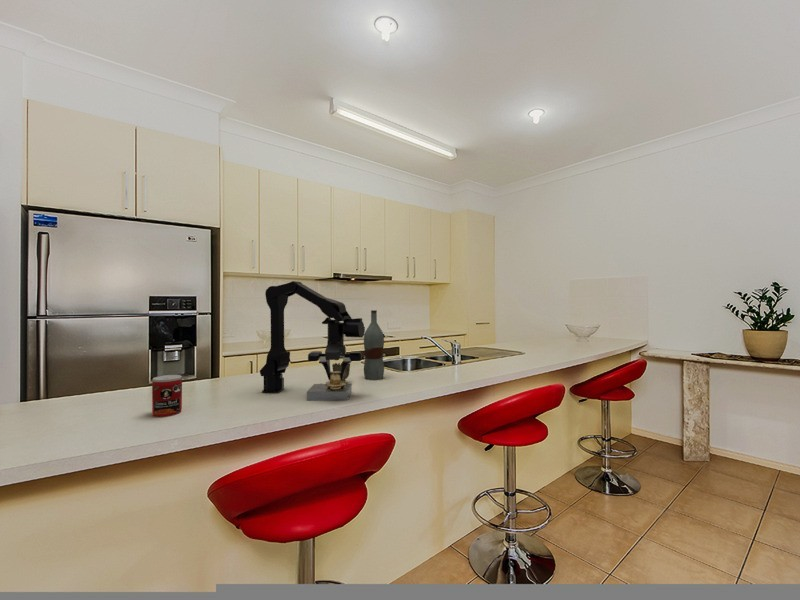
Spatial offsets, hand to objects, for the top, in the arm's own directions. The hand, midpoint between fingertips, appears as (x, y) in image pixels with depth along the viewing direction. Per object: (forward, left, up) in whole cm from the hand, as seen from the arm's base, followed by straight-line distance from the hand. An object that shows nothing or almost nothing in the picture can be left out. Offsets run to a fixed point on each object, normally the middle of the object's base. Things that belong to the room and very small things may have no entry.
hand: (335, 380), depth 134 cm
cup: (-1, +21, -6) cm, 22 cm away
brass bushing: (0, 0, -4) cm, 4 cm away
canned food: (-48, -20, -6) cm, 52 cm away
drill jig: (-2, 0, -6) cm, 6 cm away
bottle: (+12, +31, -6) cm, 34 cm away
